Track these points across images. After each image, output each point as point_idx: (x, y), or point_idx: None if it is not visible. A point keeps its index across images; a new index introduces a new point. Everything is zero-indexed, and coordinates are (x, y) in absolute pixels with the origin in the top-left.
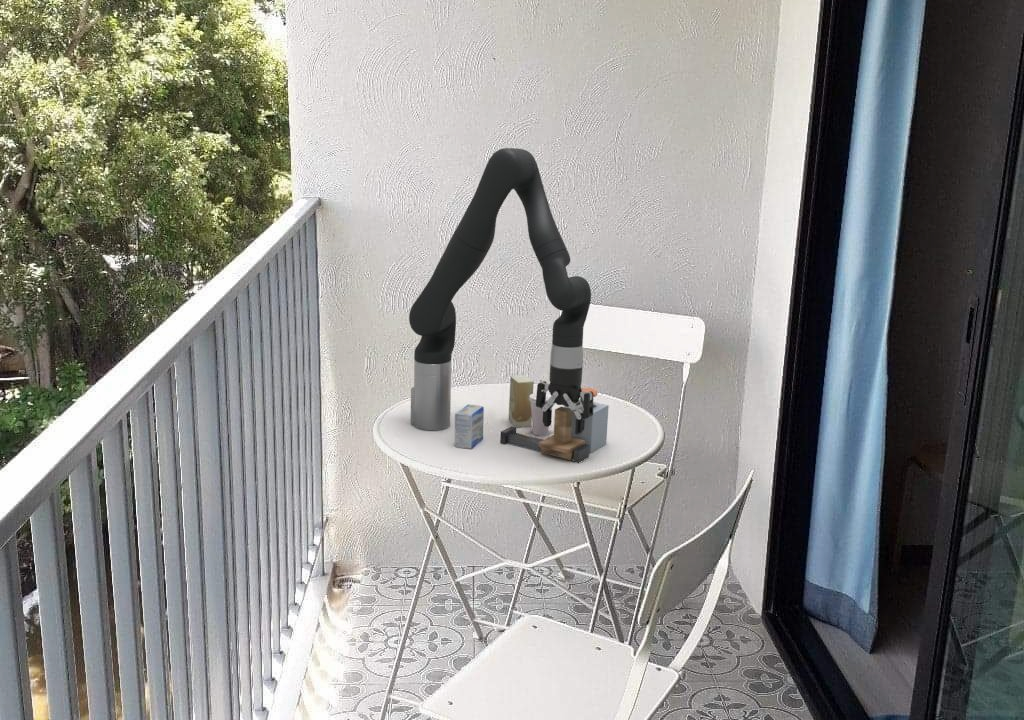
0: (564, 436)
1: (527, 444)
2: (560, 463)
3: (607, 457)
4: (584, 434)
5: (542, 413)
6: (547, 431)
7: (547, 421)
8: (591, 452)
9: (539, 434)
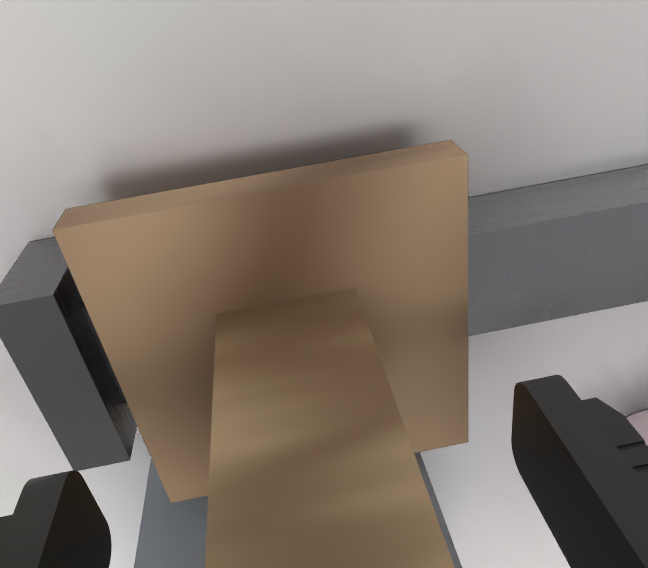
0: (219, 373)
1: (610, 188)
2: (131, 114)
3: (15, 473)
4: None
5: None
6: None
7: (551, 442)
8: None
9: (630, 421)
